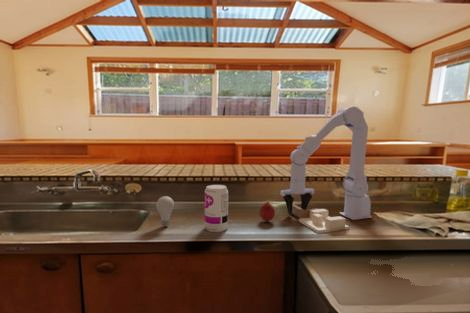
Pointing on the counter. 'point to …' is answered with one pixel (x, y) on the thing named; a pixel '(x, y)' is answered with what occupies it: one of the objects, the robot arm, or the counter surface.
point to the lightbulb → (165, 209)
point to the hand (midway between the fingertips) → (296, 211)
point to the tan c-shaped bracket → (300, 211)
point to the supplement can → (216, 208)
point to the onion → (267, 211)
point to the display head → (324, 221)
